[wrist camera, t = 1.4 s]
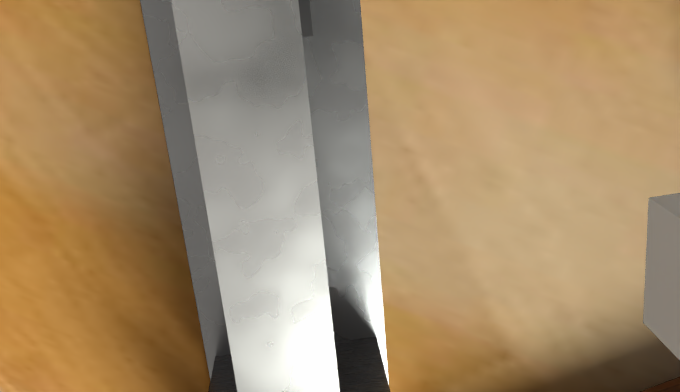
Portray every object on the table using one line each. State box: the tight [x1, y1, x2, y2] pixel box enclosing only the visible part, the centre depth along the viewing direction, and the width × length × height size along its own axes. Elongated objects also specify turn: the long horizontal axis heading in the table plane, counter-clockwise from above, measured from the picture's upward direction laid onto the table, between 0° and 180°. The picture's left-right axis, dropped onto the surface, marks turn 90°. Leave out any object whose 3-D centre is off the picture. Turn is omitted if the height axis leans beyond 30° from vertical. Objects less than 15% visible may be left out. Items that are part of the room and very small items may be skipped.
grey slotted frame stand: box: [140, 0, 390, 392], centre depth 28 cm, size 36×10×15 cm, turn 5°
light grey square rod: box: [171, 0, 340, 392], centre depth 26 cm, size 26×4×4 cm, turn 5°
